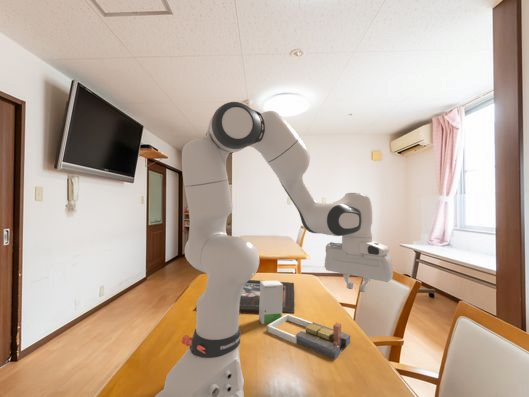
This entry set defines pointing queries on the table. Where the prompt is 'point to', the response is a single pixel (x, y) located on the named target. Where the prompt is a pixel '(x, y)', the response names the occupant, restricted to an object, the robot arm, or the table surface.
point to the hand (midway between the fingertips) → (356, 289)
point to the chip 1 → (313, 329)
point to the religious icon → (252, 297)
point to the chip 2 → (326, 334)
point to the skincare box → (270, 301)
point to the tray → (283, 334)
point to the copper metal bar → (337, 334)
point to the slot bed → (323, 343)
